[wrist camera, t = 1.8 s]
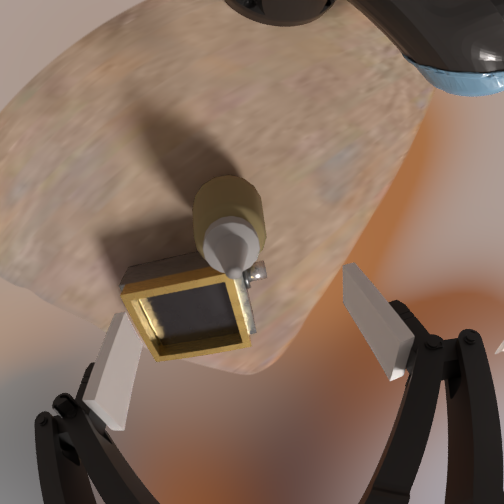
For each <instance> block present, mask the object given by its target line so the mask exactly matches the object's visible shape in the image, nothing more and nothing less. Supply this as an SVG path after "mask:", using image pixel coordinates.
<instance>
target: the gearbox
mask: <svg viewBox="0 0 504 504" xmlns="http://www.w3.org/2000/svg"><path fill="white" fill-rule="evenodd" d="M266 278H267V273H266V269H265V264H264V261H259V262H254V264H253V265H252V266H251V267H250V268H248V269H246V270H244V271H243V272H242V275H241V277H240V278H238V279H234V280H233V279H230V278H228V277H227V276H226V274H225V273H222V272H219V271H217V270H216V269H214V268H212V267H211V266H210V265H209V263H208V262H207V261H206V260H205V259H204V258H203V257H202V255H201V254H200V253H199V251H198V252H193V253H189V254H184V255H180V256H175V257H171V258H167V259H162V260H158V261H153V262H149V263H145V264H140V265H136V266H132V267H129V268H128V269H127V271H126V273H125V275H124V277H123V279H122V281H121V283H120V285H119V287H120V289H121V291H122V293H121V295H120V296H121V298H122V300H123V302H124V304H125V306H126V308H127V310H128V312H129V314H130V316H131V318H132V320H133V322H134V324H135V326H136V327H137V329H138V331H139V333H140V335H141V337H142V338H143V340H144V342H145V344H146V345H147V347H148V349H149V351H150V352H151V354H152V356H153V357H154V359H155V361H156V362H159V361H167V360H174V359H182V358H189V357H195V356H202V355H208V354H214V353H220V352H225V351H231V350H236V349H241V348H246V347H251V340H250V334H253V333H257V332H256V327H255V322H254V316H253V311H252V307H251V303H250V298H249V294H248V290H247V289H248V288H251V287H250V282H252V281H257V280H261V279H266Z"/></svg>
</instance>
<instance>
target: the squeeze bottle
mask: <svg viewBox="0 0 504 504" xmlns="http://www.w3.org/2000/svg"><path fill="white" fill-rule="evenodd" d="M192 211H193V233H194V240H195V244H196V248H197V250H198V251H199V253H200V254H201V255H202V257H203V258H204V259H205V260H206V261H207V262H208V263H209V265H210V266H211V267H212V268H214V269H216V270H217V271H219V272H222V273H225V274H226V276H227V277H228V278H230V279H233V280H234V279H238V278H240V277H241V275H242V272H243V271H244V270H246V269H248V268H250V267H251V266H252V265H253V264H254V262H255V261H256V260H257V258H258V255H259V253H260V252H261V251H262V250H263V247H264V244H265V240H266V229H265V222H264V215H263V209H262V202H261V197H260V195H259V194H258V192H257V190H256V189H255V187H254V186H253V185H252V184H250V183H249V182H248V181H246V180H245V179H243V178H240V177H236V176H231V175H226V176H220V177H215V178H213V179H211V180H210V181H208V182H207V183H205V184H204V185H202V187H201V188H200V190H199V191H198V193H197V194H196V196H195V199H194V204H193V209H192Z"/></svg>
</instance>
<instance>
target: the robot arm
mask: <svg viewBox="0 0 504 504" xmlns="http://www.w3.org/2000/svg"><path fill="white" fill-rule="evenodd" d="M225 1H226V3H227V4H228V5H229V6H230V7H231V8H233V9H234V10H235V11H236V12H238V13H239V14H241V15H243V16H245V17H247V18H249V19H251V20H253V21H256V22H259V23H263V24H267V25H273V26H285V27H286V26H298V25H303V24H307V23H310V22H312V21H314V20H316V19H318V18H319V17H321V16H322V15H323V14H324V13H325V12H327V11H328V10H329V9H330V8H331V7H332V5H333V4H334V2H335V1H336V0H225ZM348 1H349V2H350V3H351V4H352V5H354V6H355V7H356V8H357V9H358V10H359V11H361V12H362V13H363V14H364V15H365V16H366V17H367V18H368V19H369V20H370V21H372V22H373V23H374V24H375V25H376V26H377V27H378V28H379V29H380V30H381V31H382V32H383V33H384V34H385V35H386V36H387V37H388V38H389V39H390V40H391V41H392V42H393V44H394V45H395V46H396V47H397V48H398V49H399V50H400V51H401V53H402V55H403V57H404V58H405V59H406V60H407V61H408V62H410V63H411V64H413V65H414V66H415V67H416V68H417V69H418V70H419V71H420V73H421V74H422V75H423V76H424V77H425V78H426V80H427V81H428V82H430V83H431V84H432V85H433V86H435V87H436V88H439V89H441V90H443V91H445V92H447V93H450V94H454V95H459V96H485V95H491V94H495V93H498V92H501V91H504V0H348ZM343 303H344V305H345V307H346V308H347V310H348V311H349V313H350V315H351V316H352V318H353V319H354V321H355V323H356V324H357V325H358V328H359V329H360V331H361V333H362V334H363V336H364V337H365V339H366V341H367V342H368V344H369V346H370V348H371V349H372V351H373V353H374V354H375V356H376V358H377V359H378V361H379V363H380V365H381V366H382V368H383V370H384V372H385V373H386V375H387V377H388V379H389V380H390V381H392V380H394V379H396V378H399V377H401V376H403V375H404V372H405V369H407V371H408V372H409V377H408V380H407V382H406V385H405V386H406V388H405V391H404V394H403V398H402V401H401V404H400V408H399V411H398V414H397V417H396V420H395V422H394V425H393V428H392V431H391V433H390V436H389V439H388V441H387V444H386V446H385V449H384V451H383V454H382V456H381V458H380V461H379V463H378V465H377V468H376V470H375V472H374V474H373V476H372V479H371V480H370V483H369V485H368V487H367V489H366V491H365V493H364V494H363V496H362V498H361V500H360V502H359V503H358V504H408V502H409V499H410V490H411V487H412V485H413V482H414V480H415V477H416V474H417V472H418V469H419V466H420V463H421V460H422V457H423V454H424V451H425V447H426V444H427V441H428V437H429V433H430V429H431V426H432V422H433V418H434V413H435V409H436V404H437V399H438V394H439V389H440V383H441V380H445V389H446V400H447V415H448V471H447V485H446V496H445V504H504V491H503V451H502V438H501V429H500V420H499V413H498V406H497V400H496V395H495V390H494V384H493V380H492V375H491V372H490V367H489V363H488V359H487V355H486V352H485V348H484V345H483V341H482V338H481V336H480V334H479V333H478V332H477V331H475V330H472V329H465V330H463V331H461V332H460V334H459V336H458V338H455V339H448V340H443V339H442V338H441V337H439V336H437V335H432V334H429V333H428V332H427V330H426V329H425V328H424V326H423V325H422V324H421V323H420V322H419V320H418V319H417V318H416V317H414V314H413V313H412V312H410V310H409V309H408V308H407V306H406V305H405V304H403V303H402V302H400V301H398V300H395V301H392V302H389V303H388V302H387V301H386V299H385V298H384V297H383V296H382V294H381V293H380V292H379V291H378V290H377V288H376V287H375V286H374V285H373V284H372V282H371V281H370V280H369V279H368V278H367V276H366V275H365V274H364V273H363V272H362V271H361V269H360V268H359V267H358V266H357V265H356V264H355V263H350V264H346V265H343ZM142 346H143V344H142V342H141V340H140V338H139V337H138V335H137V333H136V331H135V329H134V327H133V326H132V324H131V322H130V320H129V318H128V316H127V314H126V312H121V313H116V314H114V317H113V319H112V321H111V324H110V326H109V329H108V331H107V333H106V336H105V338H104V341H103V344H102V346H101V348H100V351H99V354H98V356H97V359H96V362H95V363H91V364H90V365H89V366H88V368H87V369H86V371H85V374H84V376H83V377H84V378H83V379H82V381H81V384H80V387H79V390H78V392H77V395H76V398H75V400H74V399H73V397H72V396H71V395H70V394H68V393H62V394H60V395H58V396H57V397H56V398H55V400H54V401H53V405H52V408H53V410H54V411H55V412H56V413H57V414H58V415H57V416H52V415H51V414H50V413H49V412H45V411H44V412H41V413H40V414H39V415H38V416H37V417H36V419H35V443H36V454H37V463H38V471H39V479H40V485H41V491H42V496H43V501H44V504H96V500H95V497H94V494H93V492H92V488H91V484H90V481H89V477H90V479H91V480H92V482H93V484H94V486H95V487H96V489H97V491H98V492H99V494H100V496H101V497H102V499H103V501H104V502H105V503H106V504H160V503H159V502H158V501H157V500H156V499H155V498H154V497H153V495H152V494H151V493H150V492H149V490H148V489H147V488H146V487H145V485H144V484H143V483H142V482H141V480H140V479H139V478H138V476H137V475H136V474H135V472H134V471H133V470H132V468H131V467H130V466H129V464H128V463H127V461H126V460H125V458H124V457H123V456H122V454H121V453H120V451H119V449H118V448H117V447H116V445H115V443H114V442H113V440H112V439H111V437H110V435H109V434H108V433H107V431H106V430H105V427H106V425H107V426H108V427H109V428H110V429H112V430H124V429H125V423H126V418H127V413H128V408H129V403H130V398H131V393H132V388H133V383H134V379H135V375H136V370H137V366H138V362H139V358H140V354H141V349H142ZM87 473H88V474H87ZM88 475H89V477H88Z"/></svg>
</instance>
